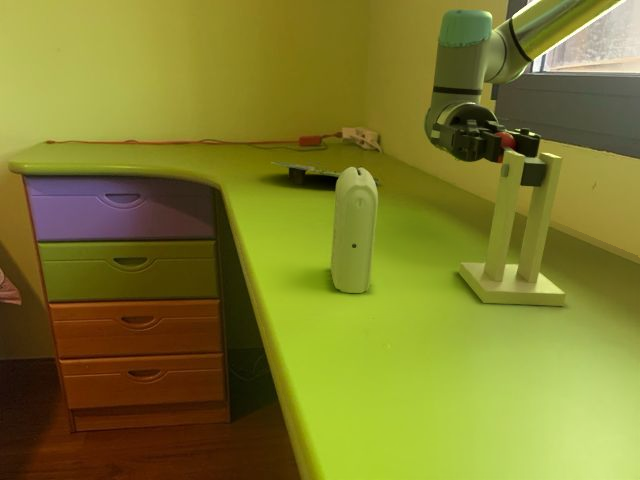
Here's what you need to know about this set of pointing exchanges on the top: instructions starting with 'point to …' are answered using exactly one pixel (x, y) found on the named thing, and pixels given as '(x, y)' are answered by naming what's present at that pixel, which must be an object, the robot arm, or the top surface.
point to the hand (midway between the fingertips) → (514, 150)
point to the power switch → (523, 279)
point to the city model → (299, 170)
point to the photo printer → (353, 230)
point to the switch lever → (532, 166)
